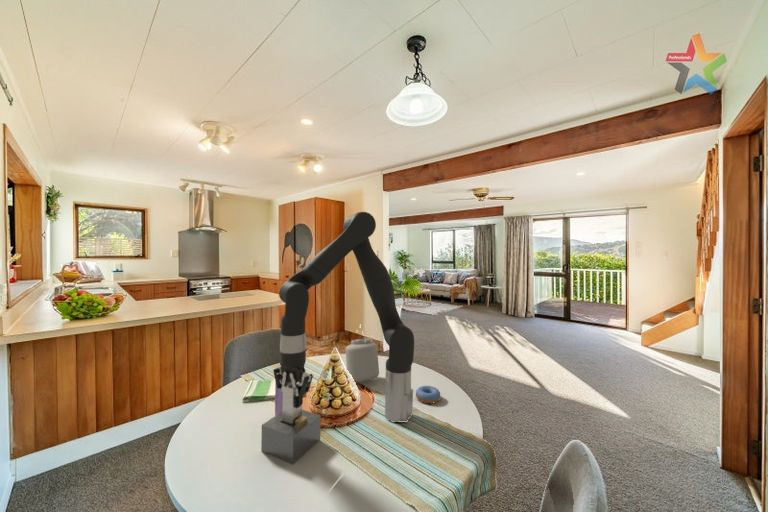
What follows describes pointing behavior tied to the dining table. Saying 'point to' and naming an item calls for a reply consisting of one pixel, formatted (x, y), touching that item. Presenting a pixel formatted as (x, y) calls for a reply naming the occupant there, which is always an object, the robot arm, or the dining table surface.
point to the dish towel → (260, 391)
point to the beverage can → (278, 400)
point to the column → (290, 406)
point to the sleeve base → (290, 436)
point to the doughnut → (428, 394)
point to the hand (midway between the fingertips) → (292, 404)
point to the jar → (362, 360)
